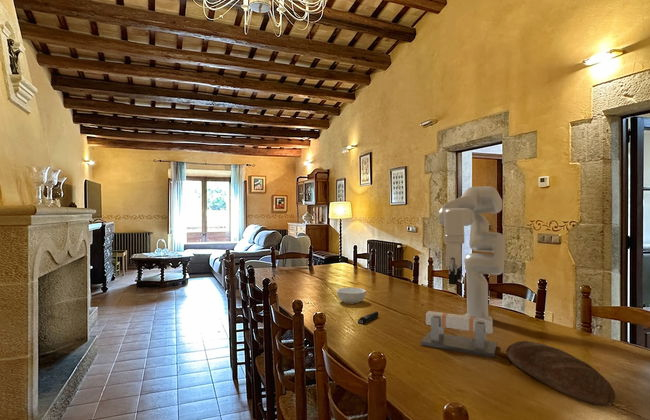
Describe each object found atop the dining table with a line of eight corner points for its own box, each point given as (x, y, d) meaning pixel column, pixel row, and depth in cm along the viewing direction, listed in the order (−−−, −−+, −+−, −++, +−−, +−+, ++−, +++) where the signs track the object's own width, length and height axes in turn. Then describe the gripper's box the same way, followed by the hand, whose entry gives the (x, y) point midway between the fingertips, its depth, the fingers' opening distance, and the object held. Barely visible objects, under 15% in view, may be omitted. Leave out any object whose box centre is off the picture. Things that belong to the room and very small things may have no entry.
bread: (531, 353, 134) (531, 330, 134) (633, 405, 98) (632, 373, 98) (493, 357, 131) (493, 333, 131) (584, 411, 95) (583, 379, 95)
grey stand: (428, 335, 153) (428, 310, 154) (496, 346, 141) (496, 318, 141) (420, 345, 142) (420, 318, 142) (494, 357, 129) (493, 328, 129)
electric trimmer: (380, 318, 180) (380, 311, 181) (363, 325, 168) (363, 318, 168) (374, 316, 183) (374, 310, 183) (357, 324, 171) (357, 317, 171)
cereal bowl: (367, 305, 203) (367, 293, 203) (337, 306, 203) (337, 293, 203) (364, 298, 220) (364, 287, 220) (336, 298, 220) (336, 287, 220)
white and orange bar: (492, 330, 138) (492, 318, 138) (491, 334, 134) (491, 321, 134) (428, 321, 149) (428, 310, 149) (425, 324, 145) (425, 313, 145)
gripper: (448, 237, 156) (449, 277, 157) (440, 241, 141) (441, 285, 141) (467, 237, 153) (467, 278, 153) (461, 242, 138) (461, 287, 138)
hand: (455, 281), depth 147 cm, fingers open, 9 cm apart
